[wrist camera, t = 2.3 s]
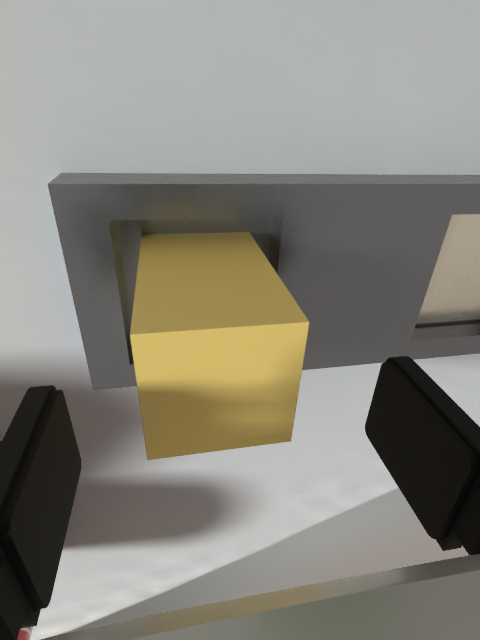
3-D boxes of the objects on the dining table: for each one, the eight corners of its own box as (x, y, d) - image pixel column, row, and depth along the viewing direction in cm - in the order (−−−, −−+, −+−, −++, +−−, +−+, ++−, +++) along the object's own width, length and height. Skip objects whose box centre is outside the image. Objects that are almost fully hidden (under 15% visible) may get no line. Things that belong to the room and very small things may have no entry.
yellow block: (141, 234, 15) (129, 334, 9) (249, 232, 16) (309, 322, 10) (151, 327, 17) (147, 460, 11) (244, 321, 18) (290, 441, 12)
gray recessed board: (61, 173, 14) (47, 183, 12) (580, 175, 18) (623, 183, 17) (99, 363, 19) (93, 389, 17) (506, 329, 23) (533, 348, 21)
